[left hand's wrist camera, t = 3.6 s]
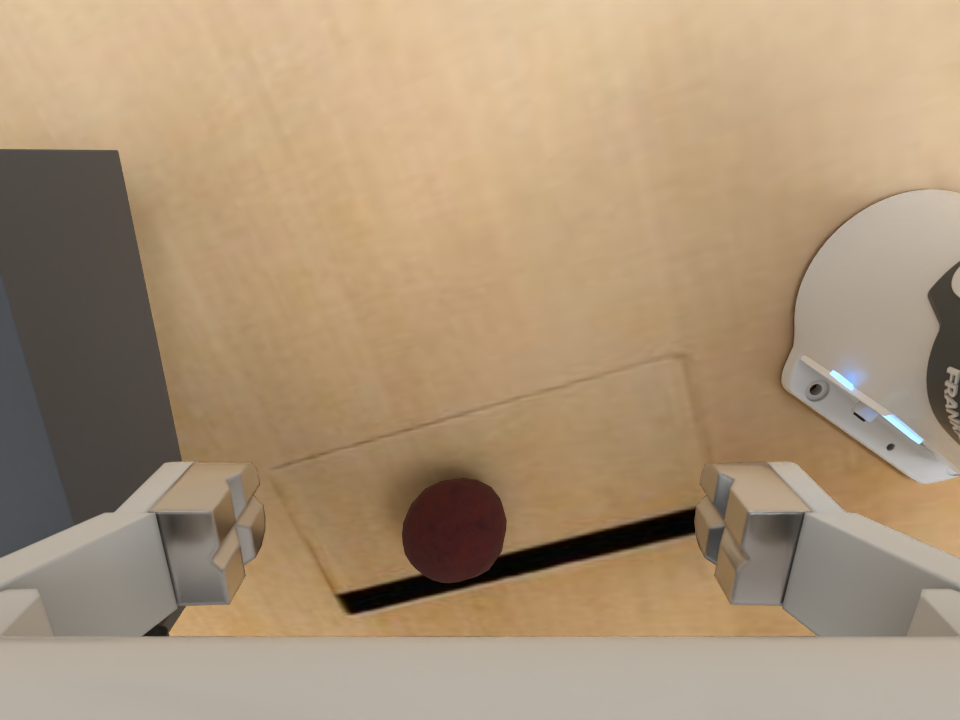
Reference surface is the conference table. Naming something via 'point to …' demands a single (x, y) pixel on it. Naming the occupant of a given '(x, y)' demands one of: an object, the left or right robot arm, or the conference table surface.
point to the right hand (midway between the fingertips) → (118, 582)
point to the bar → (74, 348)
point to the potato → (454, 530)
